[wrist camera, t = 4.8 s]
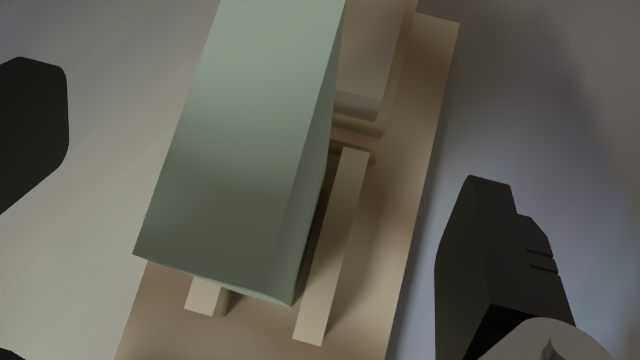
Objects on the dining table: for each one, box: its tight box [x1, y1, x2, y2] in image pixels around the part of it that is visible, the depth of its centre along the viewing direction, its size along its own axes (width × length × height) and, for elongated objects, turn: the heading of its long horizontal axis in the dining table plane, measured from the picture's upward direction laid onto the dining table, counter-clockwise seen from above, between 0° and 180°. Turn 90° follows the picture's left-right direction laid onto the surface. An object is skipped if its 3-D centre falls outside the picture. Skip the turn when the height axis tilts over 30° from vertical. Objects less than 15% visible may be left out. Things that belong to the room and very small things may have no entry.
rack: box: [114, 12, 460, 360], centre depth 22 cm, size 18×10×4 cm, turn 165°
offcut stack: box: [328, 0, 418, 165], centre depth 21 cm, size 6×6×6 cm
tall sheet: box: [132, 0, 346, 307], centre depth 15 cm, size 5×2×14 cm, turn 165°
